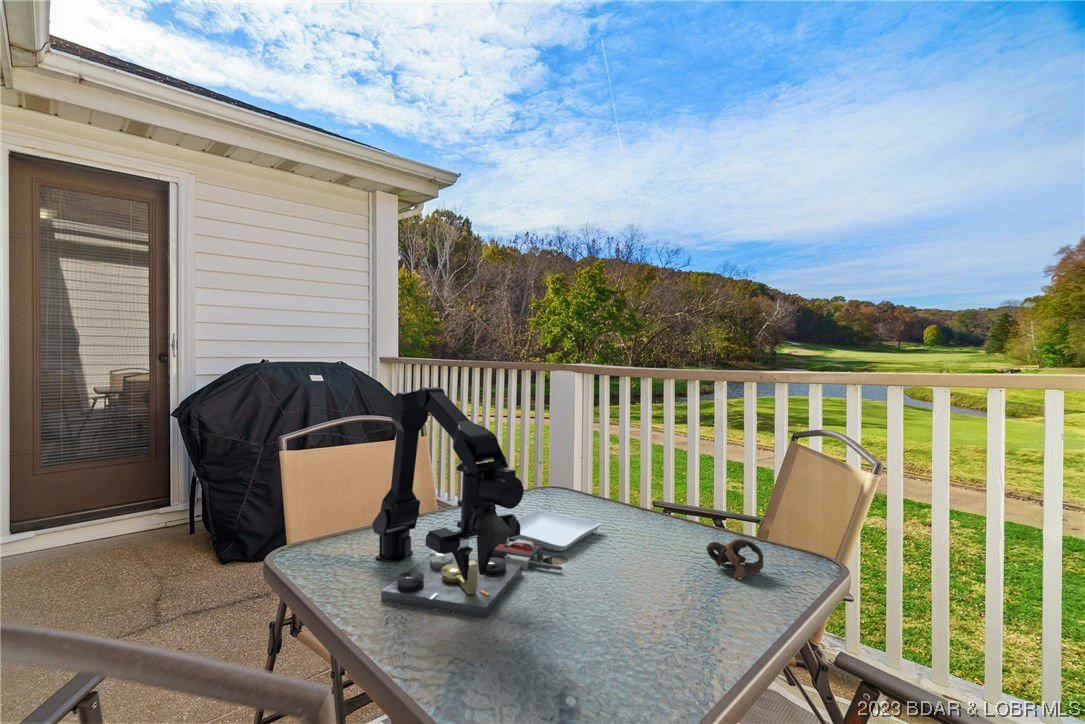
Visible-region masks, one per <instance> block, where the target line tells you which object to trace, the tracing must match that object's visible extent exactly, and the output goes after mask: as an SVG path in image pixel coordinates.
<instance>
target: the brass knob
mask: <svg viewBox="0 0 1085 724" xmlns="http://www.w3.org/2000/svg"><path fill="white" fill-rule="evenodd" d="M477 573H478V564H477V563H476V562H475V561H474V560H471V561H469V570H468V574H467V580H464V579H463V577H462V575H461V572H460V570H459V567H458V565H457V563H453V564H448V565H446V566H444V567H442V569H441V579H442V580H444V581H446V582H452V583H456V582H457V583H458V584H459V585H460V586H461V587H462V588H463V589H464V590H465V591H466V592H467V594H468V595H469V594H474V593H476V587H477Z"/></svg>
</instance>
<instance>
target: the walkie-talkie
mask: <svg viewBox="0 0 1085 724" xmlns="http://www.w3.org/2000/svg"><path fill="white" fill-rule="evenodd" d="M492 557H497V558H502V559H504V560H506V563H508V564H516V565H522V570H523V569H524V570H528V569H529V568H537V569H538V568H539V569H543V570H550V569H551V570H558V571H562V570H563V568H562V566H560V565H554V564H548V563H542V562H538V561H539V560H542V559H543V558H544V550H543V548H542V547H541V546H536V545H535V544H534V542H532V541H525V540H521V539H518V540H516V541H515V540H513V541H510V539H509V538H508V539H507V543H506V544H503V545H502V544H500V545H498V546H497V547H496V548H495V549H494V551H493V553H492V556H491V558H492Z"/></svg>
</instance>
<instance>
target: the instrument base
mask: <svg viewBox="0 0 1085 724" xmlns="http://www.w3.org/2000/svg"><path fill="white" fill-rule="evenodd" d="M471 560H474V561H475V562H476V563H477V564H478V558H477V559H476V558H470V557H469V561H471ZM453 563H457V562H456V560H455V557H454V555H453V554H452V552H451V553H447V554H439V553H437V552H436V551H434V550H432V551H430V553H429V554H428V556H426V557H425V558H423V559H422V560H421V561H420V562H418V563H416V565H414V566H412V567H411V568H410V569H409V570H407V571H406V572H405V571H404V572H402V573H400V574H398V575H397V576H396V579H395V580H393V581H392V582H391V583H390V584H388V585H387V586H385V587H384V588H382V589H381V591H380V592H381V593H380V600H381V602H387V603H394V604H400V605H405V606H411V607H415V606H417V607H416V608H421V607H423V609H427V608H428V610H433V609H437V610H436V611H439V610H443V611H442V612H445V611H449V612H448V613H451V612H455V613H454V614H456V613H460V614H459V615H462V614H464V615H463V616H468V615H469V616H470V617H474V618H480V619H487V618H488V617H489V615H490V614H491V613H492V611H494V609H495V608H496V607H497V606H498V604H499V603H500V600H501V601H502V600H503V598H504V597H505V596H506V595H505V594H508V592H509V591H510V589H511V588H512V587H513V586H514V585H515V584H516V583H517V581H518V580H519V579H520V577H521V576H522V575H523V568H522V565H516V564H508V563H507V562H506V560H504V559H502V558H497V557H492V558H490V561H489V563H488V566H487V568H486V571H485V574H484V575H480V574H479V568H478V573H477V587H476V593H474V594H469V595H468V594H467V592H466V591H465V590H464V589H463V588H462V587H461V586H460V585H459V584H458V583H457V582H456V583H452V582H446V581H444V580H442V579H441V569H442V567H444V566H446V565H448V564H453ZM504 595H505V596H504ZM469 616H468V617H469Z"/></svg>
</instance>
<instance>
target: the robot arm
mask: <svg viewBox="0 0 1085 724" xmlns="http://www.w3.org/2000/svg"><path fill="white" fill-rule="evenodd" d="M445 393H446V392H445V390H444V389H443V388H442V387H439V386H430V387H429V386H428V387H422V388H419V389H417V390H414V391H411V392H410V391H408V392H407V391H406V392H397V393H396V394H395V395H393V396H392V398H391V401H390V407H389V408H390V419H391V421H392V422H393V424H394V426H395V428H396V436H395V437H396V438H395V447H394V455H393V466H392V474H391V475H392V476H391V484H390V489H389V491H388V492H387V493H386V494H385V496H384V497H383V499H382V501H381V506H380V511H379V512H378V513H377V515H376V517H375V519H373V521H372V523H371V524H372V529H373V533H374V534H377V535H378V536H379V544H378V545H379V546H378V547H379V548H378V549H379V551H378V552H379V553H378V554H377V555H376V556H375V560H378V561H383V562H385V561H386V562H393V563H401V561H403V560H405V559H406V558H408V557H409V556H410V555H412V554H414V551H413V550H412V536H411V535H410V534H411V533H410V530H414V529H416V527H417V521H418V517H419V516H420V505H421V502H420V500H419V499H418V498H417V496H416V495H415V493H414V483H415V481H414V480H415V471H416V463H417V455H418V445H419V436H420V431H421V430H422V428H423V427H424V425H426V423H427V422H428V420H429V415H431V416H432V417H433V418H434V419H435V421H436V422H438V424H439V425H440V426H441V427H442V428H443V430H445V433H447V434H448V435H449V436H450V438H451V439H452V449H453V450H454V453H455V454H456V456H457V457H458V459H459V460H460V462H461V463H460V464H457V466H456V467H455V468H456V471H458V472H461V473H462V482H461V483H462V486H461V500H459V499H458V500H457V507H460V508H461V509H460V520H458V521H456V528H459V529H460V530H457V531H453V530H452V529H451V530H450V529H449V528H447V527H442V528H438V529H433V530H429V532H428V533H427V534H426V536H425V547H427V548H429V549H431V550H432V551H436V552H437V553H439V554H447V553H451V552H452V554H453V556H454V557H455V560H456V562H457V565H458V567H459V570H460V572H461V575H462V577H463V579H464V580H467V574H468V570H469V558H470V554H471V553H472V552H473V550H474V548H472V546H469V542H470V540H473V539H476V545H477V546H476V550H477V551H476V552H477V559H478V568H479V574H480V575H484V574H485V571H486V568H487V566H488V563H489V561H490V558H491V556H492V553H493V551H494V549H495V548H496V547H497V546H498V545H500V544H502V545H503V544H506V543H507V539H509V538H508V537H514V536H518V535H520V530H521V525H520V523H519V522H518V520H516V519H517V517H516V516H515V514H513V513H510V514H502V515H501V514H500V515H499V514H497V507H496V506H499V507H501V508H504V509H508V510H511V509H514V508H516V507H518V505H519V504H520V503H521V501H522V499H523V497H524V491H525V488H524V486H523V483H522V481H521V480H520V478H518V477H516V474H517V473H516V470H514V469H510V468H509V469H508V467H509V465H508V462H507V460H506V459H507V458H506V456H505V455H504V452H503V450H502V448H501V446H500V443H499V442H498V437H497V436H496V435H495V433H494V432H492V431H491V430H489V429H488V428H486V427H485V426H484V425H480V424H477V423H474V422H473V421H472V420H470V419H469V418H468V417H467V416H466V414H464V413H463V412H462V410H461V409H460V408H459V407H458V406H457V405H456V404H455V403H454V402H453V401H452V400H451V399H450V398H449V396H447V395H446V394H445Z"/></svg>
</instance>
